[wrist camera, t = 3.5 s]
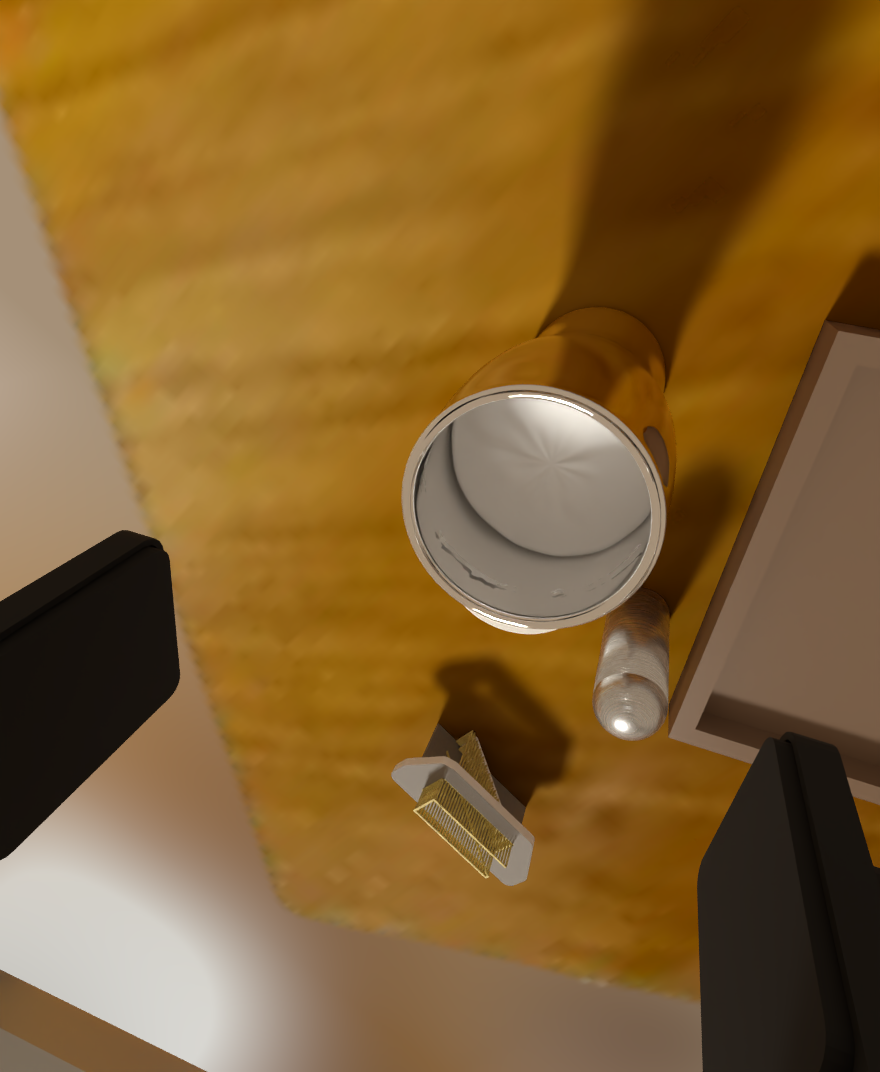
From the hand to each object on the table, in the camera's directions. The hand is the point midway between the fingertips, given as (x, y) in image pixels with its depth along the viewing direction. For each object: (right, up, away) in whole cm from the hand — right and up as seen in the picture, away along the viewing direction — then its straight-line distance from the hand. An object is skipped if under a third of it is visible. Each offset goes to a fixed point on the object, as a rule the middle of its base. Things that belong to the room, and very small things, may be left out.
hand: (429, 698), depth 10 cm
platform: (+4, -11, +31) cm, 33 cm away
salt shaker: (+10, -1, +23) cm, 25 cm away
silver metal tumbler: (+7, +9, +19) cm, 22 cm away
